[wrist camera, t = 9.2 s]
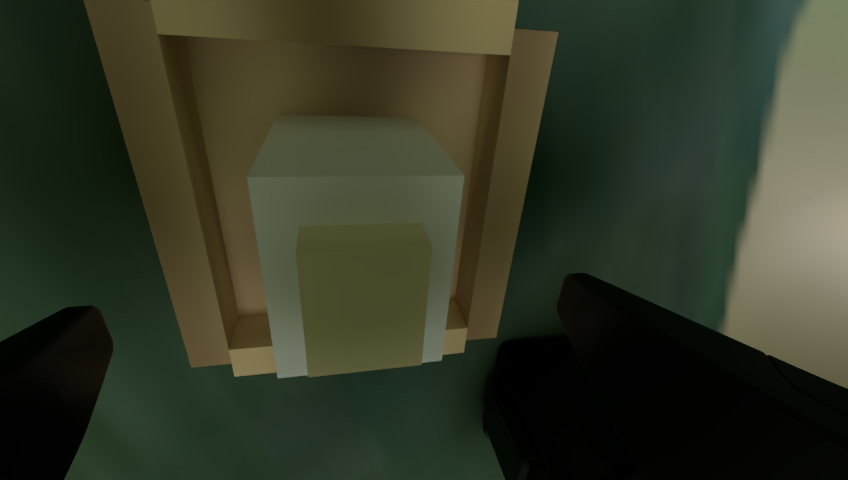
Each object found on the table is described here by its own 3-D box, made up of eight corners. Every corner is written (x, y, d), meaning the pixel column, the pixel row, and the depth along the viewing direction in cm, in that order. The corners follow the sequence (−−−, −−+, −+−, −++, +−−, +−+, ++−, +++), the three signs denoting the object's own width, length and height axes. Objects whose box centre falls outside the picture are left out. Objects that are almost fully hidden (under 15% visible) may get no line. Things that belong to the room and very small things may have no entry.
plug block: (416, 118, 12) (480, 195, 7) (408, 258, 15) (452, 391, 9) (276, 114, 11) (236, 199, 6) (293, 264, 14) (272, 414, 9)
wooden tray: (522, 5, 12) (564, 4, 10) (473, 308, 17) (493, 349, 15) (126, -30, 10) (71, -41, 8) (213, 329, 15) (195, 380, 13)
